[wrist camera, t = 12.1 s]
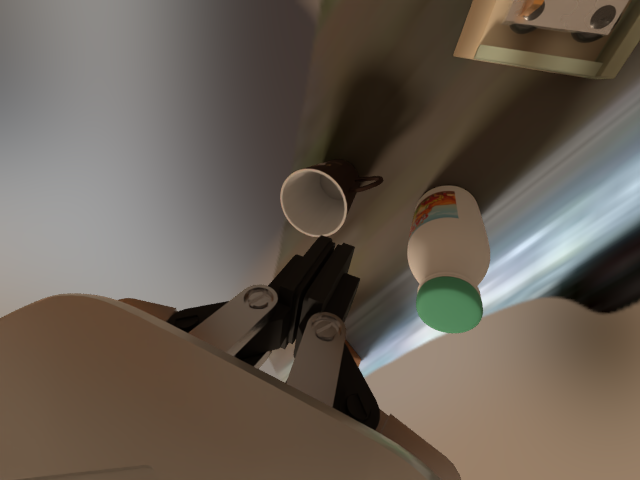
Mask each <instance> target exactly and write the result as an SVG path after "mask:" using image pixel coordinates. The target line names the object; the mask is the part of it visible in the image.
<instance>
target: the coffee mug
mask: <svg viewBox="0 0 640 480" xmlns="http://www.w3.org/2000/svg"><path fill="white" fill-rule="evenodd" d="M371 180H375V181H376V182H374V183H371V184H369V185H366V186H363V187H359V182H361V181H371ZM382 182H383V178H382V177H380V176H373V177H363V178H359V176H358V173H357V171H356V169H355V168H354V167H353V166H352V165H351V164H350V163H349V162H347V161H344V160H340V159H335V160H330V161H327V162H324V163H321V164H317V165H314V166H311V167H307V168H304V169H301V170H298V171H296V172H294V173H292V174H291V175H290V176H288V178H287V179H286V180H285V181H284V184H283V186H282V189H281V193H280V198H281V199H280V201H281V206H282V209H283V212H284V214H285V216H286V218H287V219H288V221H289V222H290V223H291V224H292V225H293V226H294V227H295V228H296V229H297V230H299V231H300V232H302V233H304V234H306V235H309V236H313V237H320V235H323V236H329V235H331V234H333V233H335V232H336V231H337V230H339V229H340V227H341V226H342V225H343V223H344V221H345V219H346V216H347V214H348V211H349V209H350V207H351V204H352V202H353V200H354V197H355V195H356V193H357V192H361V191H365V190H368V189H370V188H373V187H375V186H378V185H379V184H381V183H382Z"/></svg>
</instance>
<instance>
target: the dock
mask: <svg viewBox="0 0 640 480" xmlns="http://www.w3.org/2000/svg"><path fill="white" fill-rule="evenodd" d="M510 2H511V0H473V2H472V5H471V8H470V10H469V13H468V16H467V19H466V22H465V24H464V27H463V30H462V33H461V35H460V38H459V41H458V44H457V46H456V49H455V52H454V55H453V56H455V57H461V58H467V59H473V60H479V61H485V62H491V63H497V64H504V65H510V66H516V67H522V68H528V69H534V70H540V71H546V72H552V73H558V74H564V75H570V76H576V77H582V78H589V79H614V78H615V76H616V75H617V73H618V72H619V70H620V69H621V67H622V66H623V64H624V63H625V61H626V60H627V58H628V57H629V55H630V54H631V52H632V51H633V49H634V48H635V46H636V45H637V43H638V42H639V40H640V0H629V1H628V3H627V5H626V6H625V8H624V9H623V11H622V15H621V18H620V20H619V21H618V23H617V25H616V26H615V27H614V28H613V29H612V30H611V31H610V33H609V34H608V35H606V36H604V37H602V38H600V39H598V40H596V41H593V42H589V43H580V42H577V41H576V40H574V39H573V37H572V36H571V33H570V32H562V31H554V30H547V29H539V28H537V29H536V30H534V31H532V32H530V33H527V34H517V33H514V32H513V31H512V30H511V29H510V26H507V25H501V24H502V21H503V19H504V17H505V14H506V12H507V9H508V7H509V5H510Z"/></svg>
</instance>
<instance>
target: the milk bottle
mask: <svg viewBox="0 0 640 480" xmlns="http://www.w3.org/2000/svg"><path fill="white" fill-rule="evenodd" d="M407 253H408V262H409V266H410V269H411V271H412V273H413V275H414V277H415V278H416V280H417V281H418V282H419V287H418V292H417V293H418V294H417V299H416V308H417V312H418V315H419V316H420V318H421V319H422V321H423V322H424V323H426V324H427V325H428V326H430V327H431V328H433V329H435V330H438V331H441V332H446V333H462V332H466V331H469V330H471V329H473V328H474V327H476V326H477V325H478V324H479V322H480V320H481V318H482V314H483V307H482V301H481V297H480V291H479V289H478V287H477V286H478V285H479V283H480V282H481V281H482V280H483V278H484V277H485V275H486V273H487V270H488V267H489V263H490V247H489V242H488V238H487V234H486V230H485V227H484V223H483V220H482V217H481V213H480V210H479V207H478V204H477V202H476V200H475V198H474V197H473V196H472V195H471V194H470V193H469V192H468V191H466V190H465V189H463V188H460V187H457V186H450V185H447V186H439V187H436V188H433V189H431V190H429V191H428V192H426V193H425V194H424V195H423V196H422V197H421V198H420V200H419V201H418V203H417V205H416V208H415V212H414V216H413V221H412V226H411V231H410V236H409V242H408V252H407Z"/></svg>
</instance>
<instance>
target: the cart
mask: <svg viewBox="0 0 640 480" xmlns="http://www.w3.org/2000/svg"><path fill="white" fill-rule="evenodd" d="M628 1H629V0H511V2H510V5H509V7H508V9H507V12H506V14H505V17H504V19H503V21H502V24H501V25H507V26H510V29H511V30H512V31H513V32H514V33H517V34H527V33H530V32H532V31H534V30H536V29H537V28H539V29H547V30H554V31H562V32H570V33H571V36H572V37H573V39H574V40H576V41H577V42H580V43H589V42H593V41H596V40H598V39H600V38H602V37H604V36H606V35H608V34H609V33H610V31H611V30H612V29H613V28H614V27H615V26H616V25H617V23H618V21H619V20H620V18H621V15H622V11H623V9H624V8H625V6H626V5H627V3H628Z"/></svg>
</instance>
